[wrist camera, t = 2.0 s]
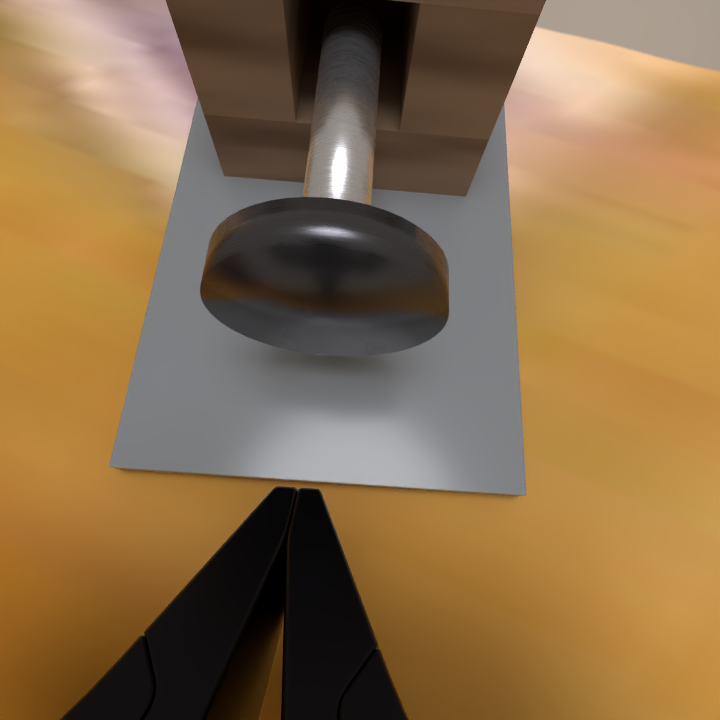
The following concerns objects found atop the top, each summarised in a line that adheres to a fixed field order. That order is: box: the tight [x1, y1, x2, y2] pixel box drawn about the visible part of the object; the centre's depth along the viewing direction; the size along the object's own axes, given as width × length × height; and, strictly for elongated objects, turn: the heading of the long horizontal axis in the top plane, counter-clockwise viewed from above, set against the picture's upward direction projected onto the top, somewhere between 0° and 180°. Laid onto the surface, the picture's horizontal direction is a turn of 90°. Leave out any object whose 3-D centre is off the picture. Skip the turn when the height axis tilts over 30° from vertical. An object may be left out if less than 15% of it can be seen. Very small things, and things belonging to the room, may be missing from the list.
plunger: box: [200, 2, 449, 357], centre depth 14 cm, size 11×6×6 cm, turn 176°
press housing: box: [166, 0, 546, 197], centre depth 18 cm, size 10×11×8 cm
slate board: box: [109, 99, 526, 496], centre depth 20 cm, size 23×15×1 cm, turn 176°
